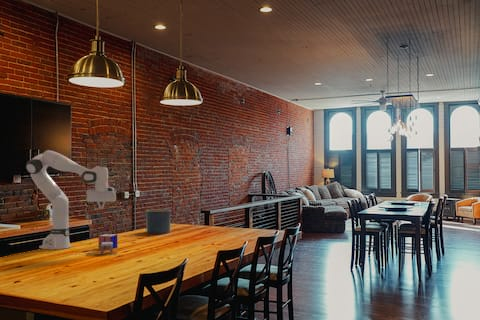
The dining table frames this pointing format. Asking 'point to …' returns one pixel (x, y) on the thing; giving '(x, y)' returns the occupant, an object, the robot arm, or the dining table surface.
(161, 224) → the planter
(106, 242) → the stool
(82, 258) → the dining table surface
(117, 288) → the dining table surface
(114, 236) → the puzzle cube
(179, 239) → the dining table surface
